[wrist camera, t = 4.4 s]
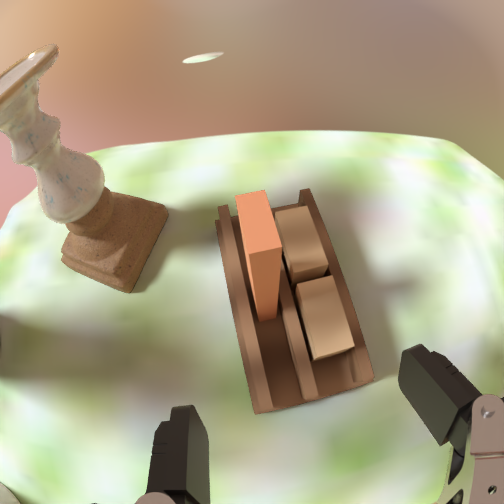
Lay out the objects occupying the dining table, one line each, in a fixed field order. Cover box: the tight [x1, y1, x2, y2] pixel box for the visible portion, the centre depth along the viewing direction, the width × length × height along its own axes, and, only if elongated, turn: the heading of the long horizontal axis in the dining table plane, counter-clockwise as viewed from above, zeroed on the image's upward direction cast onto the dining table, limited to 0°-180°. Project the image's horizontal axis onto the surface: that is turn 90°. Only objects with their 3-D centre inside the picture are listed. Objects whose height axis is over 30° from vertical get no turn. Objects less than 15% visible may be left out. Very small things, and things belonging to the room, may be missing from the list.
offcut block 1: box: [275, 206, 328, 291], centre depth 27 cm, size 6×3×4 cm, turn 12°
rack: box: [215, 189, 374, 414], centre depth 26 cm, size 20×11×4 cm, turn 12°
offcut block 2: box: [293, 275, 355, 362], centre depth 24 cm, size 6×3×4 cm, turn 12°
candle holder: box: [0, 44, 168, 293], centre depth 22 cm, size 11×11×24 cm
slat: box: [235, 190, 282, 322], centre depth 21 cm, size 4×2×14 cm, turn 12°
